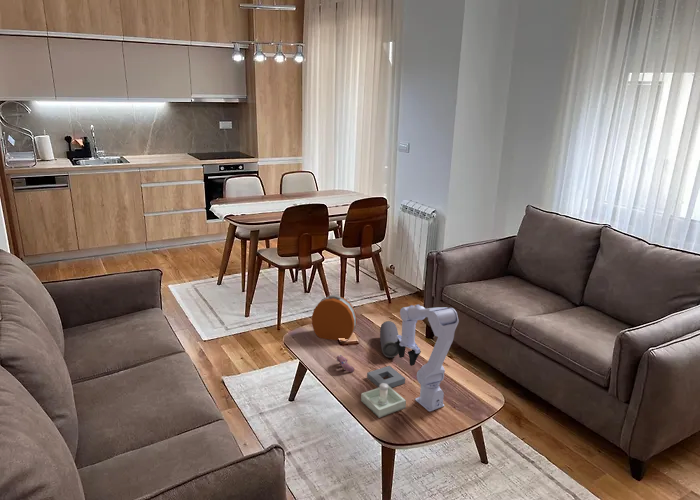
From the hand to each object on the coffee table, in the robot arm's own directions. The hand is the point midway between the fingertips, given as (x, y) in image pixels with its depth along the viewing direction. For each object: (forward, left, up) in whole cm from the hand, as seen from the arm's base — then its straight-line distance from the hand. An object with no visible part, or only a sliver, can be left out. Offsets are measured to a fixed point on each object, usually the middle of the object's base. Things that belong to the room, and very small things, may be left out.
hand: (406, 360), depth 218 cm
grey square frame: (+4, +8, -9) cm, 13 cm away
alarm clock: (+52, +7, -10) cm, 53 cm away
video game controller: (+22, +19, -10) cm, 30 cm away
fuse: (-10, +19, -9) cm, 23 cm away
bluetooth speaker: (+27, -10, -10) cm, 30 cm away
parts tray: (-10, +19, -9) cm, 23 cm away
